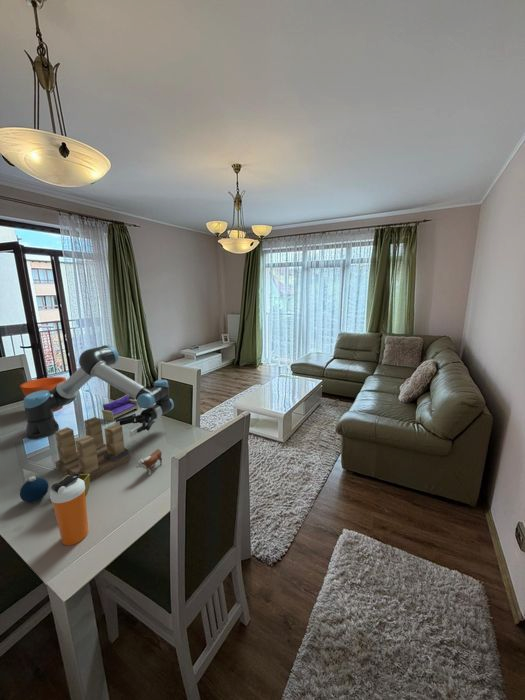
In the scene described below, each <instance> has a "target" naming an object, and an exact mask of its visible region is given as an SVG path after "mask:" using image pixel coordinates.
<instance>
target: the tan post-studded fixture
mask: <svg viewBox="0 0 525 700" xmlns="http://www.w3.org/2000/svg"><path fill="white" fill-rule="evenodd" d="M101 420H102V419H101V418H99V417H96V416H94V417H91V418H88V419H85V420H83V425H84V429H85V430H84V431H85V436H83V437H80V438H78V439H75V434H74V433H75V432H74V429H72V428H70V427H68V426H67V427H64V428H61V429H59V430H58V431H56V432H55V433H54V436H55V441H56V447H57V453H58V458H59V459H58V460H56V461H54V465H55V468H56V469H57V470H59V471H60V472H63V473H64V474H66V475H72V474H90V482H89V484H91V483H92V482H93V481H95V480H97V479H99V478H100V477H102V476H103V475H104V476H105V475H106V474H108V473H109V472H111V471H113V470H114V469H116V468H119V467H120V466H121V465H123V464H125V463H127V462H128V461H131V456H130V450H129V449H128V448H125V451H124V452H122V453H120V454H118V455H116V456H114V457H113V456H111V455H109V454H108V453H107V445H106V443H104V435H103V427H102V421H101Z"/></svg>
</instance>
